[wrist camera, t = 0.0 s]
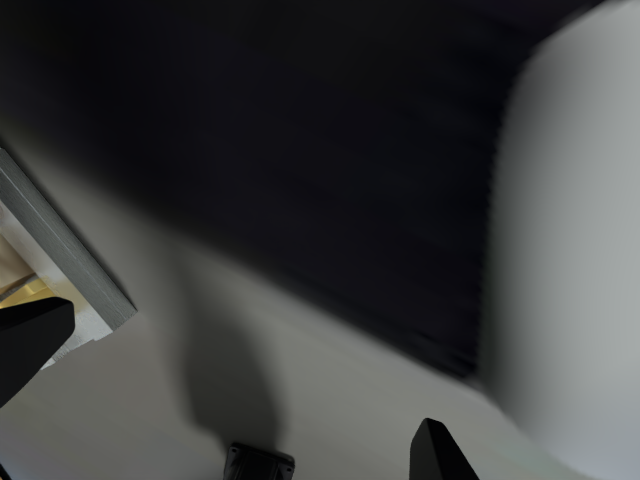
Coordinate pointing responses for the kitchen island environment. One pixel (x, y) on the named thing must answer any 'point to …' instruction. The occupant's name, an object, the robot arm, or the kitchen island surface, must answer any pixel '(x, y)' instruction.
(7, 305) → the tall yellow pillar
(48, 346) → the robot arm
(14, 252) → the maple block
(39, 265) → the slot rail
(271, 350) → the kitchen island surface
